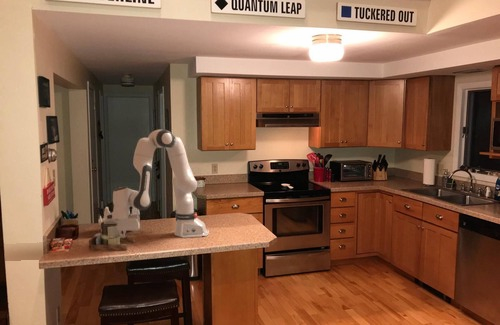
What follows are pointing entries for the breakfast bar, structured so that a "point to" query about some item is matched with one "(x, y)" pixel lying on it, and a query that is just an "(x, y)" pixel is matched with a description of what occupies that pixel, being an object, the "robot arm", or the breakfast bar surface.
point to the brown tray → (109, 247)
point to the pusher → (98, 239)
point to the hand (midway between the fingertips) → (122, 237)
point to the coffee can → (109, 234)
